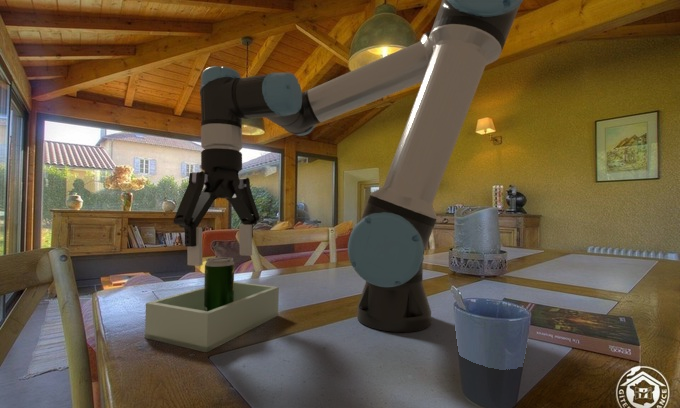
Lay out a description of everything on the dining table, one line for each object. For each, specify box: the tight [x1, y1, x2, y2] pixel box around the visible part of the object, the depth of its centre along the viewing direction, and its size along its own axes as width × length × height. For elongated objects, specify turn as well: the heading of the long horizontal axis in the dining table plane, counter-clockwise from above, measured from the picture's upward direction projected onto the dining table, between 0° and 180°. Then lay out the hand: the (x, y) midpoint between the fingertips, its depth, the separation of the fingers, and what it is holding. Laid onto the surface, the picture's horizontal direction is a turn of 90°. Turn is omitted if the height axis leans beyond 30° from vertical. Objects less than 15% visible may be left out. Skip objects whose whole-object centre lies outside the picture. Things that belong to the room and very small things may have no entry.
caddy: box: [144, 281, 280, 353], centre depth 63 cm, size 14×20×6 cm
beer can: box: [203, 256, 235, 311], centre depth 63 cm, size 5×5×12 cm
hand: (222, 260), depth 63 cm, fingers open, 13 cm apart
